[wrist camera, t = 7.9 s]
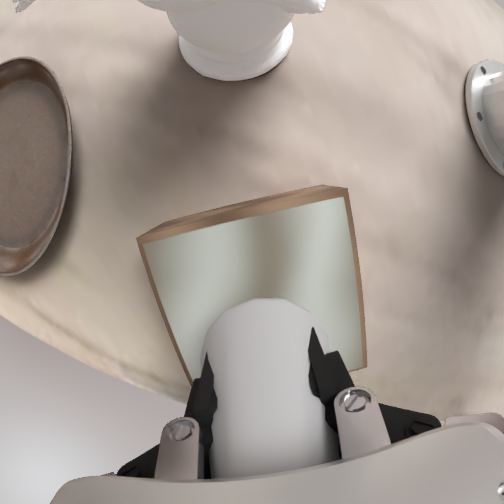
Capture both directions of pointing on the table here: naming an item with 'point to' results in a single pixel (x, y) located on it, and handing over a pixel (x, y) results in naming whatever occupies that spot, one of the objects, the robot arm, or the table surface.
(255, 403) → the salt shaker
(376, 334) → the table surface
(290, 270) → the square box
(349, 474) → the robot arm
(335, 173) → the table surface
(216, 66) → the cherub figurine
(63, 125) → the plant saucer
